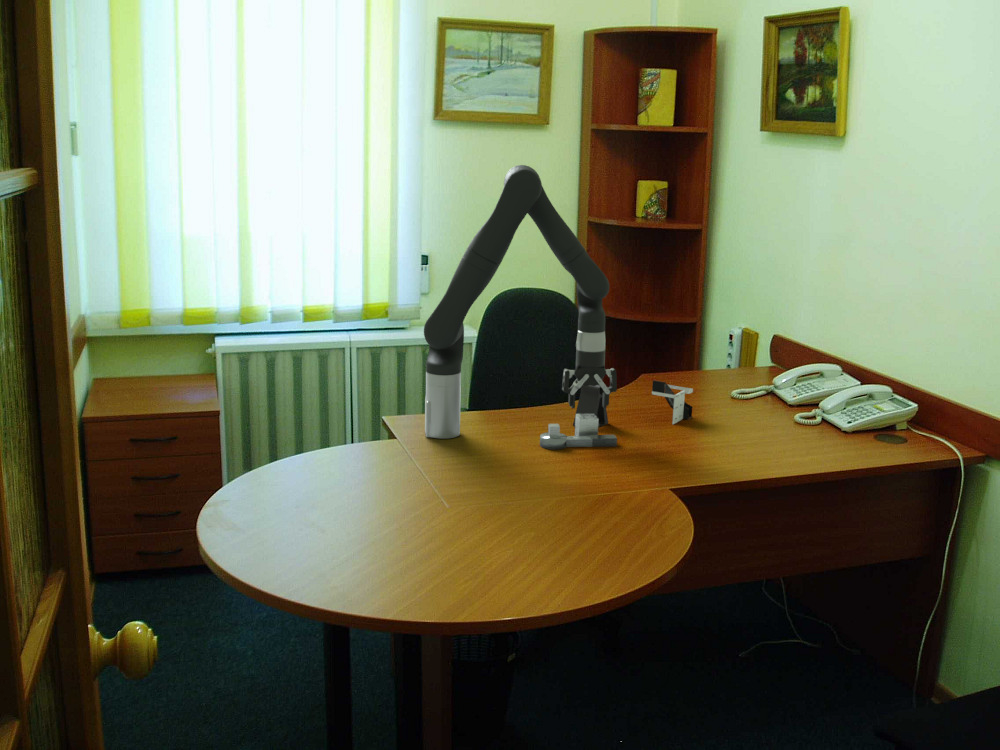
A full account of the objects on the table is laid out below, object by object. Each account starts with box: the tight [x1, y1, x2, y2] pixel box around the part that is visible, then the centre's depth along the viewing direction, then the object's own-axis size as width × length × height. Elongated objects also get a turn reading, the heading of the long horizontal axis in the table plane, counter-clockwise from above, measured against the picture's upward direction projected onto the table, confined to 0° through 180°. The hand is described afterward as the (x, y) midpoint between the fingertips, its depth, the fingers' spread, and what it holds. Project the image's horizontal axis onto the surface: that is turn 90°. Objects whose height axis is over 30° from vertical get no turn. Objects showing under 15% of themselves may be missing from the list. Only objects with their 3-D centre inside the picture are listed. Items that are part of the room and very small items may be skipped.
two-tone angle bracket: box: [651, 379, 694, 425], centre depth 274 cm, size 9×10×12 cm
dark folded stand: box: [572, 384, 609, 428], centre depth 266 cm, size 9×6×12 cm, turn 141°
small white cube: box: [574, 413, 599, 436], centre depth 255 cm, size 5×5×6 cm
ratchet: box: [539, 423, 618, 451], centre depth 248 cm, size 20×7×6 cm, turn 98°
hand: (588, 407), depth 253 cm, fingers open, 8 cm apart
